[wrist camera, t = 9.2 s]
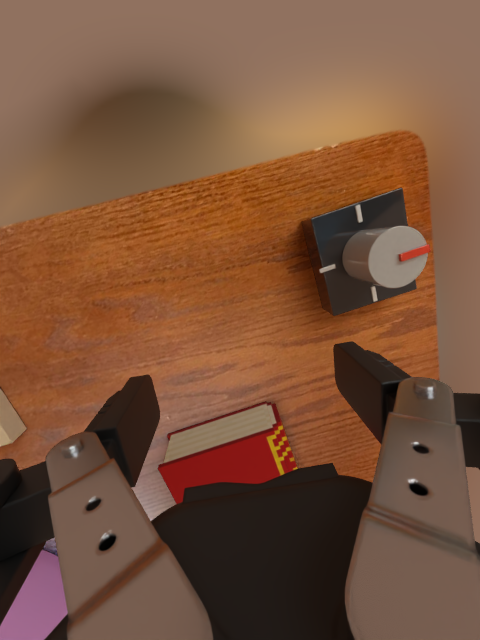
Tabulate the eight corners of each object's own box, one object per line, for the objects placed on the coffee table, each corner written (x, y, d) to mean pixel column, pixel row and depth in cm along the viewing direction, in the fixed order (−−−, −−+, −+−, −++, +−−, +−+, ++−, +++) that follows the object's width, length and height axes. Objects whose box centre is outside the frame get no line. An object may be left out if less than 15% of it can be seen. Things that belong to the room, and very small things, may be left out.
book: (313, 513, 36) (327, 555, 31) (221, 542, 36) (221, 588, 31) (273, 398, 31) (282, 427, 26) (168, 433, 31) (157, 468, 26)
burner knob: (348, 287, 25) (376, 297, 20) (336, 239, 23) (364, 237, 19) (395, 270, 24) (434, 277, 20) (386, 221, 23) (426, 216, 19)
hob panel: (297, 222, 26) (307, 219, 23) (385, 192, 25) (407, 185, 22) (319, 309, 28) (331, 317, 25) (400, 283, 28) (421, 288, 25)
